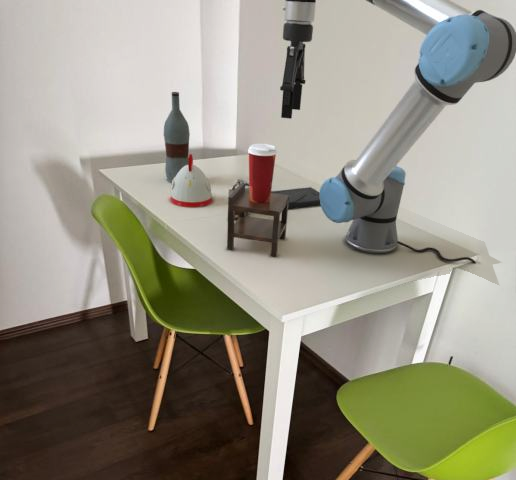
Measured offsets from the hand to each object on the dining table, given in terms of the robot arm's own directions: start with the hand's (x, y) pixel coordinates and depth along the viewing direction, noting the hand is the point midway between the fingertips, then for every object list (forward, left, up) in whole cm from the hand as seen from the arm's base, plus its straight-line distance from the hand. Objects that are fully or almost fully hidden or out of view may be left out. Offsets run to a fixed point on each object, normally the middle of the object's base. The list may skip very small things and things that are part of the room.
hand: (290, 113), depth 140 cm
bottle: (+46, -31, -33) cm, 64 cm away
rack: (+4, +16, -33) cm, 37 cm away
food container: (+14, -4, -33) cm, 36 cm away
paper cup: (+4, +16, -20) cm, 26 cm away
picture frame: (-1, -26, -33) cm, 42 cm away
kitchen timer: (+34, -12, -33) cm, 49 cm away
